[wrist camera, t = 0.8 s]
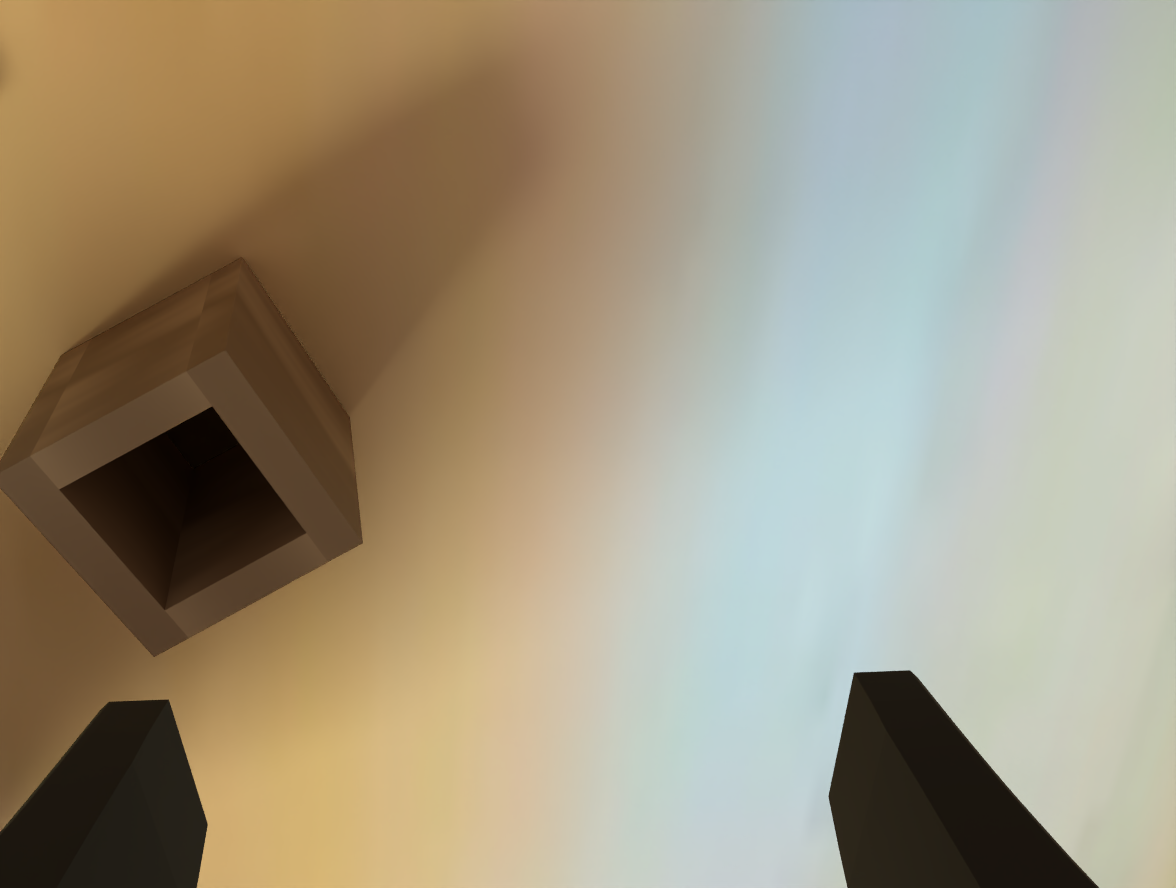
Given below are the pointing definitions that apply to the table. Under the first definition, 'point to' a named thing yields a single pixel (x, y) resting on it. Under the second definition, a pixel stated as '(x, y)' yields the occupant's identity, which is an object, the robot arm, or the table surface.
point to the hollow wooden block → (167, 481)
